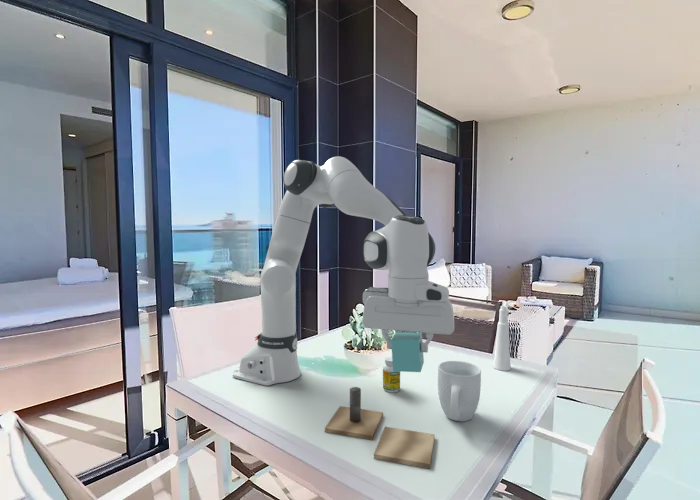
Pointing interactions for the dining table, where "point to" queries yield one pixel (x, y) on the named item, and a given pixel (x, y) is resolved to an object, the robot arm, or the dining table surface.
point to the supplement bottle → (390, 377)
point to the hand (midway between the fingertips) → (407, 349)
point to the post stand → (355, 419)
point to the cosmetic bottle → (502, 342)
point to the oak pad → (405, 447)
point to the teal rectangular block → (407, 352)
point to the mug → (459, 389)
